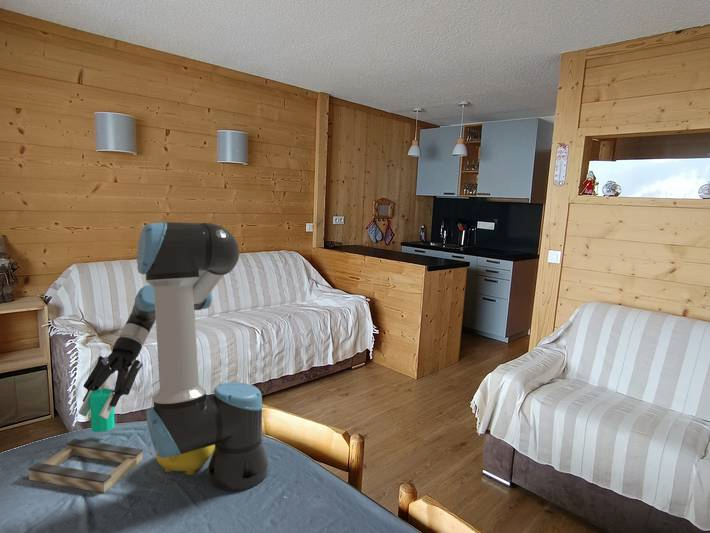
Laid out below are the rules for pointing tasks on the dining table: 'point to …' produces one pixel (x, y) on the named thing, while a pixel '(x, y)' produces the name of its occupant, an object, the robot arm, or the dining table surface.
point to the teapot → (186, 460)
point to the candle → (96, 406)
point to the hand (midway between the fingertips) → (92, 415)
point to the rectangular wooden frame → (83, 478)
